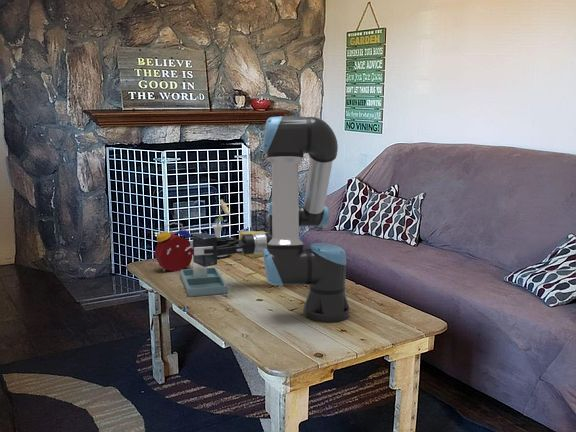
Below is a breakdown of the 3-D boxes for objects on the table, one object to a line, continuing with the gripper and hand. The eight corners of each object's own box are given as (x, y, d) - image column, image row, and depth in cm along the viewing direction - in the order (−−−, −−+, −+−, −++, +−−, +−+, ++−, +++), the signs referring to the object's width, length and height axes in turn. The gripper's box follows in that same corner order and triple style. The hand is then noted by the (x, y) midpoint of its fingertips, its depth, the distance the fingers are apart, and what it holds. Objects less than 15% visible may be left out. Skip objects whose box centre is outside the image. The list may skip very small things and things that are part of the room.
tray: (227, 294, 211) (227, 286, 211) (188, 297, 207) (188, 289, 207) (216, 274, 234) (215, 267, 233) (180, 276, 230) (180, 269, 229)
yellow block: (257, 250, 271) (257, 228, 268) (271, 255, 263) (271, 233, 260) (238, 253, 264) (238, 232, 262) (252, 259, 256) (252, 236, 254)
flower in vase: (222, 260, 252) (221, 203, 247) (200, 257, 257) (199, 201, 252) (237, 253, 264) (237, 198, 259) (215, 250, 269) (215, 196, 264)
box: (217, 264, 212) (217, 236, 209) (204, 267, 208) (203, 238, 206) (206, 259, 218) (205, 232, 215) (192, 262, 214) (192, 234, 212)
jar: (208, 279, 225) (208, 254, 223) (193, 280, 224) (193, 255, 222) (206, 274, 231) (205, 250, 229) (191, 276, 229) (191, 251, 227)
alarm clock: (188, 265, 244) (187, 219, 240) (197, 271, 237) (196, 223, 233) (154, 271, 236) (152, 223, 232) (162, 277, 229) (160, 227, 225)
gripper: (260, 262, 207) (196, 266, 201) (246, 246, 228) (188, 249, 221) (260, 241, 206) (196, 245, 199) (246, 227, 226) (188, 230, 220)
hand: (192, 247), depth 210 cm, fingers closed on box, 9 cm apart
